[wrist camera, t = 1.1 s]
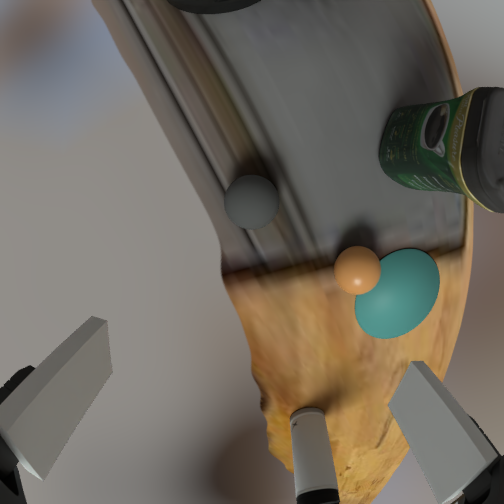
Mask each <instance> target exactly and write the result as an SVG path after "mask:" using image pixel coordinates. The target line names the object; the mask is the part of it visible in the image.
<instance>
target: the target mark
mask: <svg viewBox="0 0 504 504" xmlns="http://www.w3.org/2000/svg"><path fill="white" fill-rule="evenodd" d="M380 265H381V275H380V279H379V281H378V283H377V284H376V286H375V287H374V288H373V289H372V290H370V291H369V292H367V293H364V294H360V295H356V300H355V314H356V318H357V321H358V323H359V325H360V326H361V328H362V329H363V330H364V331H365V332H366V333H367V334H369V335H371V336H373V337H376V338H381V339H388V338H394V337H398V336H401V335H403V334H405V333H408V332H409V331H411V330H412V329H414V328H415V327H416V326H418V325H419V324H420V323H421V322H422V321H423V320H424V319H425V318H426V316H427V315H428V314H429V312H430V311H431V309H432V307H433V305H434V303H435V301H436V299H437V295H438V292H439V285H440V278H439V271H438V268H437V266H436V264H435V262H434V261H433V259H432V258H431V257H430V256H429V255H428V254H426V253H424V252H423V251H420V250H416V249H402V250H398V251H395V252H393V253H391V254H389V255H387V256H385V257H384V258H382V259H381V260H380Z"/></svg>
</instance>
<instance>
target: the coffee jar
mask: <svg viewBox="0 0 504 504" xmlns="http://www.w3.org/2000/svg"><path fill="white" fill-rule="evenodd" d="M379 161H380V165H381V167H382V169H383V171H384V172H385V174H386V175H387V176H389V177H390V178H391V179H392V180H394V181H396V182H397V183H399V184H401V185H403V186H405V187H408V188H411V189H416V190H427V191H444V192H453V193H459V194H464V195H466V196H467V197H468V198H470V199H471V200H472V201H473V202H475V203H476V204H477V205H479V206H480V207H482V208H484V209H486V210H489V211H491V212H498V213H504V88H499V87H478V88H475V89H473V90H471V91H469V92H467V93H466V94H464V95H462V96H460V97H458V98H455V99H451V100H447V101H441V102H435V103H428V104H420V105H411V106H406V107H402V108H399V109H397V110H396V111H394V112H393V114H392V115H391V117H390V120H389V122H388V124H387V127H386V129H385V132H384V136H383V139H382V143H381V147H380V153H379Z"/></svg>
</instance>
